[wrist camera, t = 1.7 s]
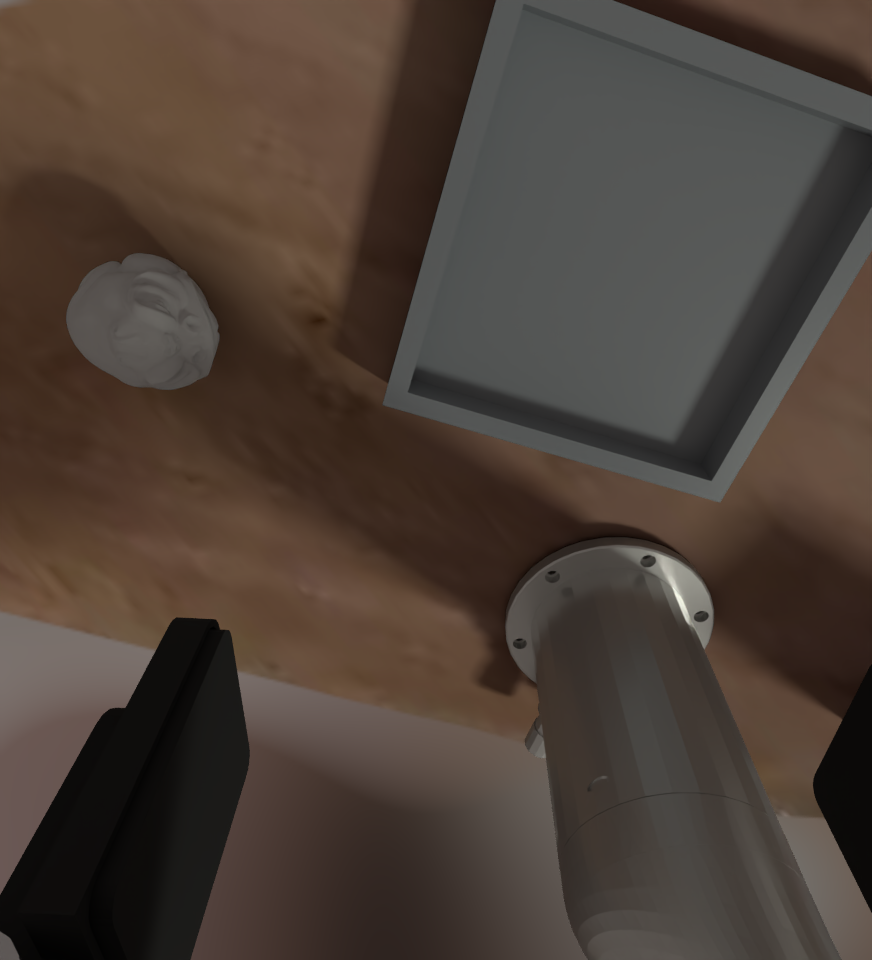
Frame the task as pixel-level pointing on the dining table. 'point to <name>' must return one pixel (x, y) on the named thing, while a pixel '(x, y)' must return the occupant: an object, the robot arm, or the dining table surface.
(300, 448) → the dining table surface
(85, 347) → the frog figurine
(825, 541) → the dining table surface
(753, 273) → the tray
